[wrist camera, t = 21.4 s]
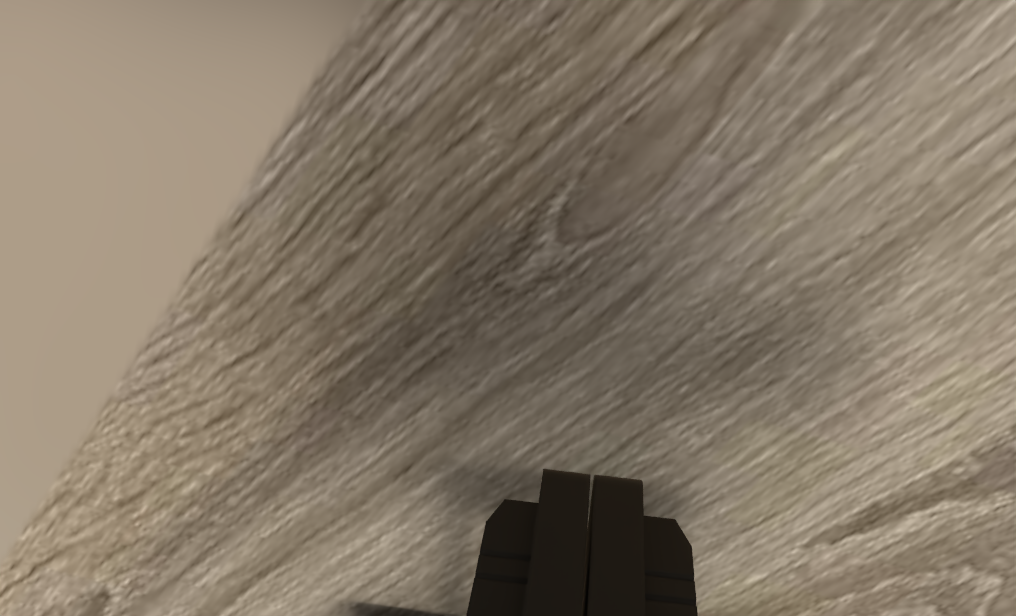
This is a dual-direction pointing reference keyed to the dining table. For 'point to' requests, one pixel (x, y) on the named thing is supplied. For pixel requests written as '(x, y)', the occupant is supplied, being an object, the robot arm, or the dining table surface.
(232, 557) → the dining table surface
